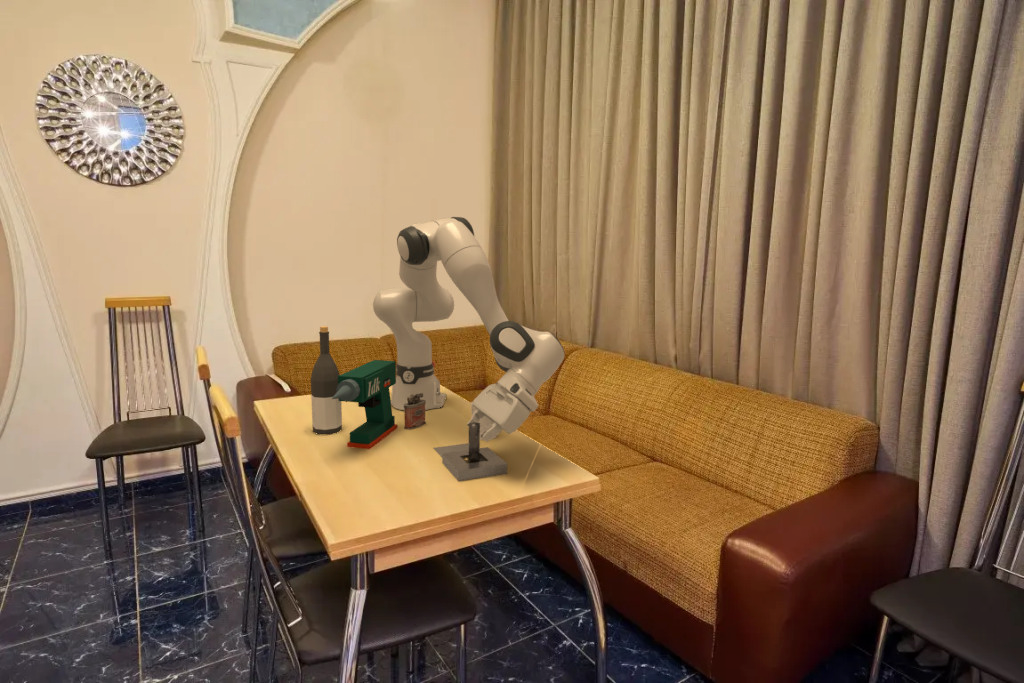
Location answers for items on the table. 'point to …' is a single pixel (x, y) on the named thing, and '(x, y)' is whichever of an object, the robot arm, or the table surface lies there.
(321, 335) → the wine bottle
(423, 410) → the lighter
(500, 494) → the table surface
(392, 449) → the table surface
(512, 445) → the table surface
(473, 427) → the dark grey peg
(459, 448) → the grey square plate
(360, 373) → the power tool
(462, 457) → the grey square frame
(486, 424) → the white cup
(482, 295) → the robot arm
